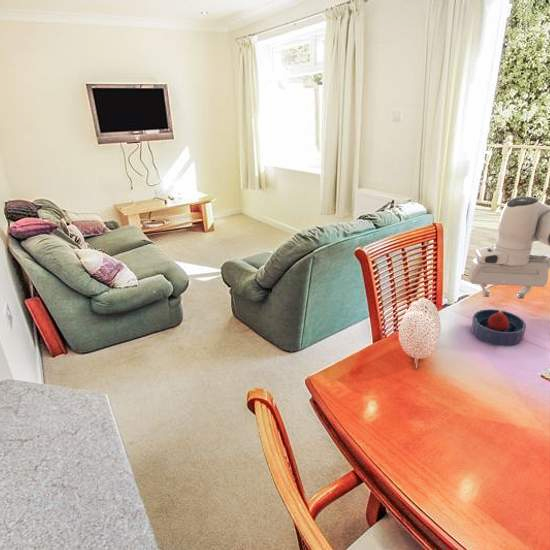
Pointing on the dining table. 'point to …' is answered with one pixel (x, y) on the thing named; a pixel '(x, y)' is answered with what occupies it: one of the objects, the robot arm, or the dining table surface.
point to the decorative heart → (420, 329)
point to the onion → (498, 322)
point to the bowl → (495, 337)
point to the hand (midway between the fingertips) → (502, 296)
